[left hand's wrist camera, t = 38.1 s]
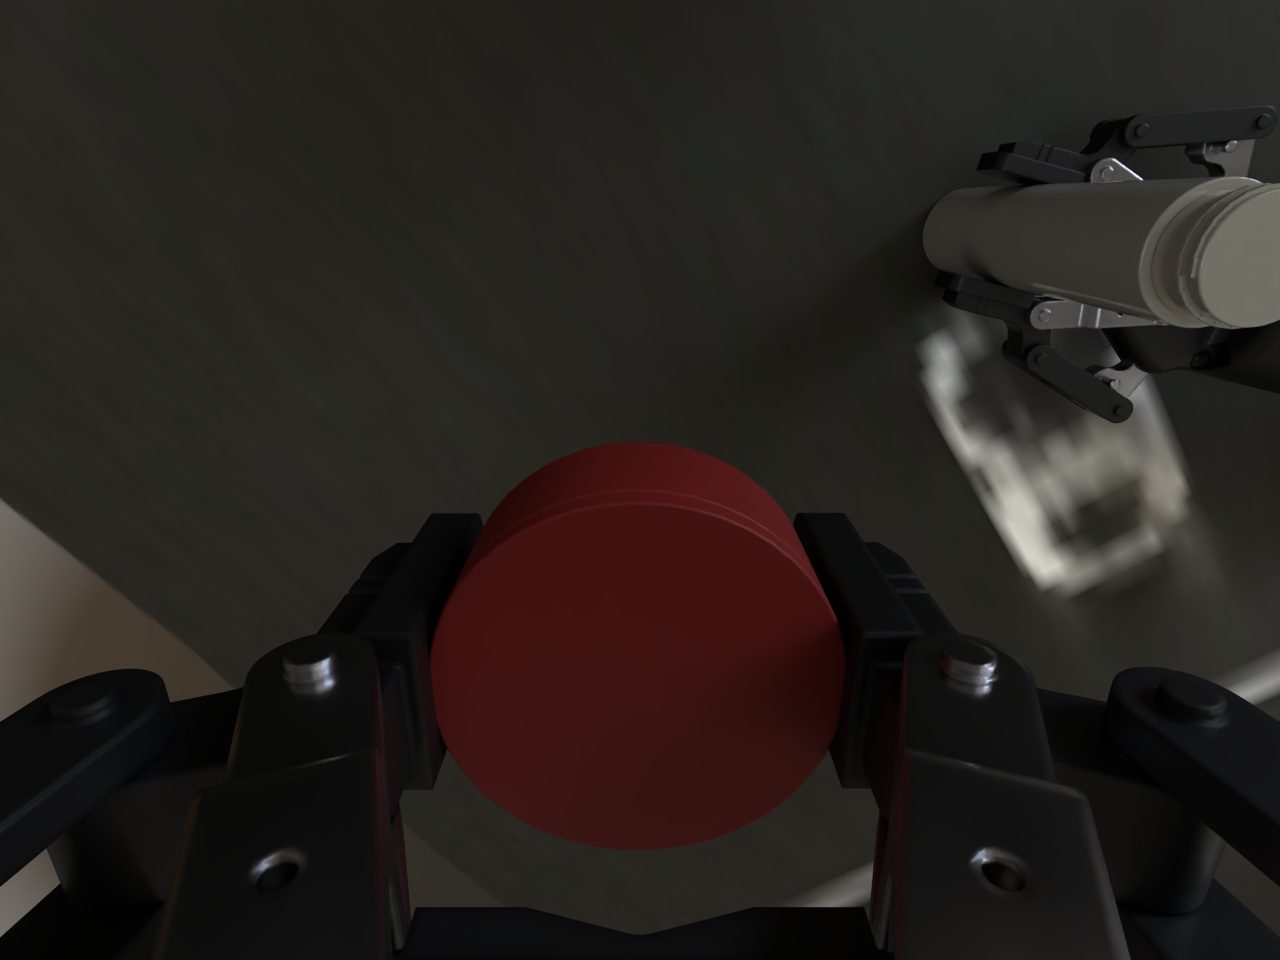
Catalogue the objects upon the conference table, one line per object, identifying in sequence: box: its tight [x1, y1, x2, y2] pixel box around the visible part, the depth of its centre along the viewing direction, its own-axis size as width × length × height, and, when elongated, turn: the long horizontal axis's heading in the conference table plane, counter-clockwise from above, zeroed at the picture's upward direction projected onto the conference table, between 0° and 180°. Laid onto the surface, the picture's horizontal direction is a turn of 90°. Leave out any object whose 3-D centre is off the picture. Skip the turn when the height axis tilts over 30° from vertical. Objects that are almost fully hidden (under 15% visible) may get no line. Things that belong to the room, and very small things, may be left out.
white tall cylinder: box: [923, 176, 1280, 329], centre depth 28 cm, size 4×4×19 cm
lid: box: [429, 442, 846, 850], centre depth 10 cm, size 5×5×2 cm
